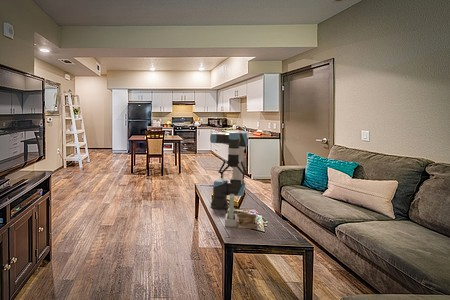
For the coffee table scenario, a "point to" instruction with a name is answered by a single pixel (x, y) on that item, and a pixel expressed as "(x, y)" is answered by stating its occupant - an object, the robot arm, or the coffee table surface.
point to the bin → (231, 221)
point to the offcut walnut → (246, 222)
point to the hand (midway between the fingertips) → (232, 183)
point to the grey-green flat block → (231, 206)
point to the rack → (242, 216)
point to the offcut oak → (246, 220)
